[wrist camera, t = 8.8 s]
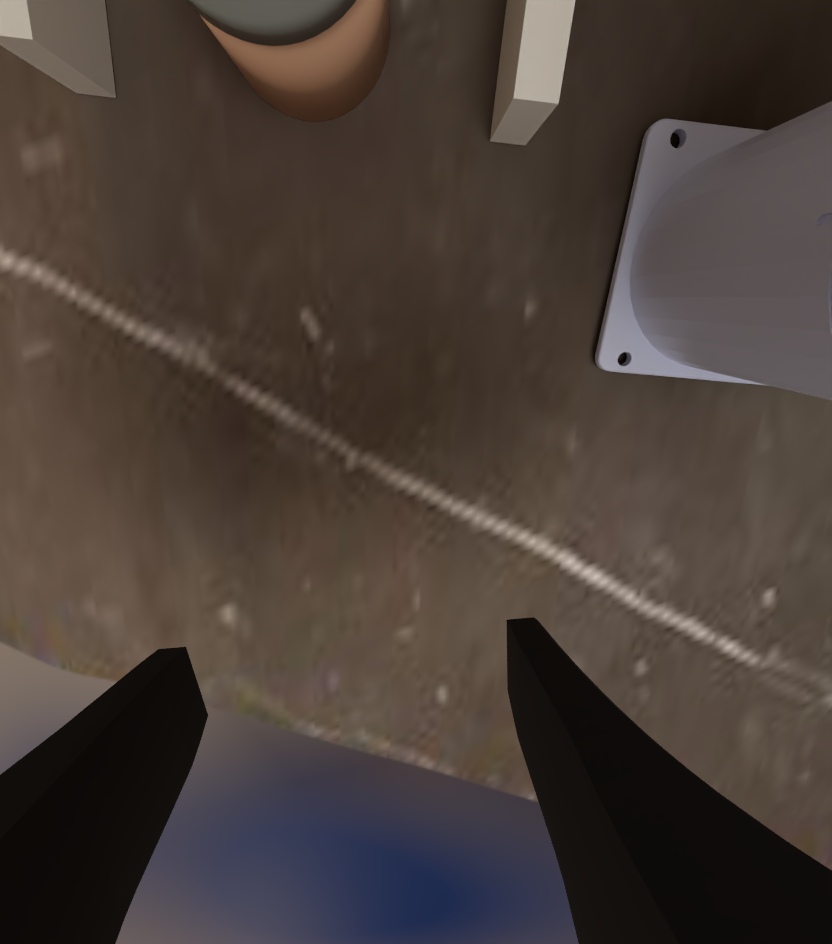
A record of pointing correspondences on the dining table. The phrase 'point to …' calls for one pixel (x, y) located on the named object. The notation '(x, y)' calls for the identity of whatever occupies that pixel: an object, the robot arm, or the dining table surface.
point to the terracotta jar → (303, 50)
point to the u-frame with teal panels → (91, 72)
